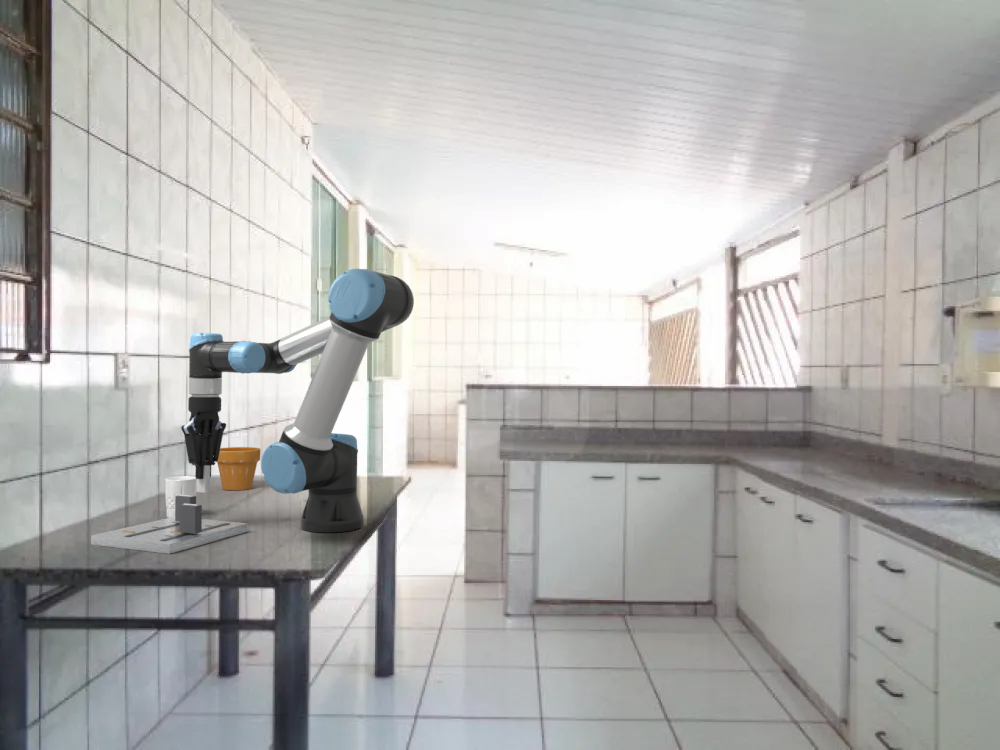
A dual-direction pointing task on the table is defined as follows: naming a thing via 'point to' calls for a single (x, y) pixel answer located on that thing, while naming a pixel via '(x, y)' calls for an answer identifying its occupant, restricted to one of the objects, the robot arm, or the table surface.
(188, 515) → the fader
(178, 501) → the fader tab
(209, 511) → the table surface
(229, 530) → the console
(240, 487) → the flower pot
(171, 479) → the white cup
